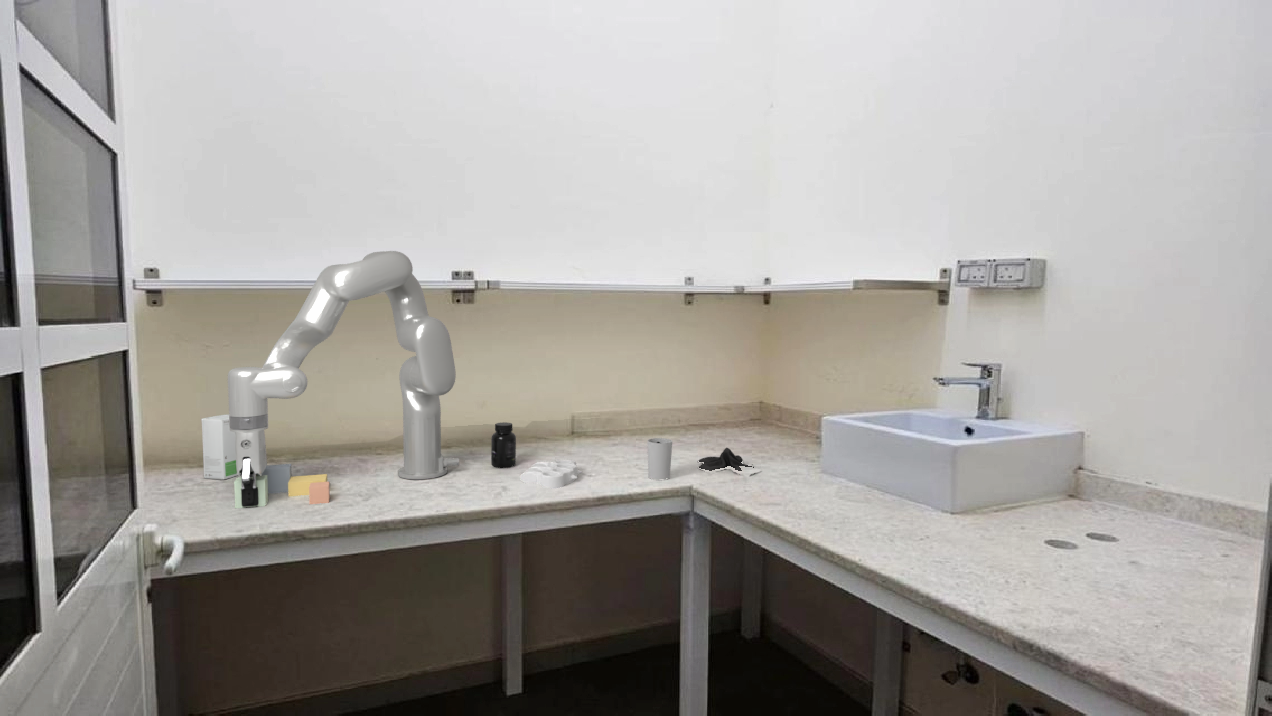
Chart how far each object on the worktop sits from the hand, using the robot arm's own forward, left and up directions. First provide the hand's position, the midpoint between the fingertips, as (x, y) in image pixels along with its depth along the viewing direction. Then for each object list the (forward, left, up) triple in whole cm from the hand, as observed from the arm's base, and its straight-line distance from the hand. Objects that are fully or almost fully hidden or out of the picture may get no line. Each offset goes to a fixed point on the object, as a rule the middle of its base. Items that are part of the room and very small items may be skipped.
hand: (251, 501), depth 152 cm
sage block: (0, 0, -1) cm, 1 cm away
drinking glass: (-97, +8, -1) cm, 97 cm away
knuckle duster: (-70, 0, -1) cm, 70 cm away
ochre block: (-11, -7, -1) cm, 13 cm away
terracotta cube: (-14, +2, -1) cm, 14 cm away
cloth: (-121, +3, -1) cm, 121 cm away
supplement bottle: (-60, -17, -1) cm, 62 cm away
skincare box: (+10, -29, -1) cm, 31 cm away
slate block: (-4, -10, -1) cm, 11 cm away
